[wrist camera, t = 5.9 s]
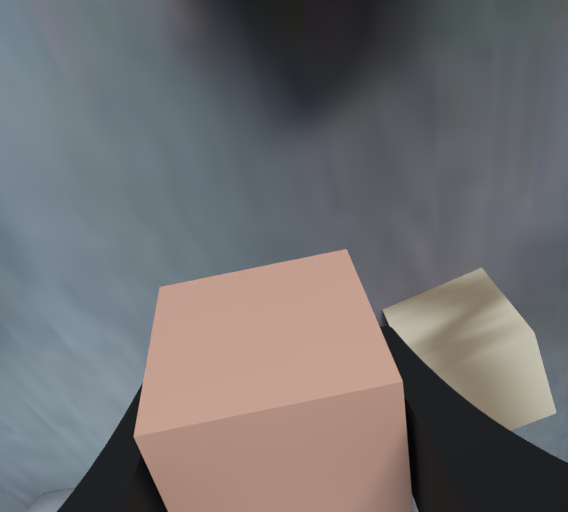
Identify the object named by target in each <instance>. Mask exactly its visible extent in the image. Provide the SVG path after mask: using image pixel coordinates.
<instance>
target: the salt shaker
mask: <svg viewBox="0 0 568 512" xmlns="http://www.w3.org/2000/svg"><path fill="white" fill-rule="evenodd" d="M74 489H75V488H73V489H67V490H61V491H54V492H48V493H43V494H42V496H41V497H40V498H39V499H38V500H37V501H36V502H35V503H34V504H33V506H32V507H31V508H30V509H29V510H28V511H27V512H57V510H58V509H59V508H60V507H61V506H62V504H63V503H64V502H65V501H66V499H67V498H68V497H69V496H70V494H71V493H72V492H73V491H74Z"/></svg>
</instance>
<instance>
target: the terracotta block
mask: <svg viewBox="0 0 568 512" xmlns="http://www.w3.org/2000/svg"><path fill="white" fill-rule="evenodd" d="M134 439H135V441H136V443H137V445H138V448H139V450H140V452H141V454H142V456H143V458H144V461H145V463H146V465H147V467H148V469H149V471H150V474H151V476H152V478H153V480H154V482H155V484H156V487H157V489H158V491H159V493H160V495H161V497H162V500H163V502H164V504H165V506H166V508H167V510H168V512H413V503H412V490H411V477H410V465H409V452H408V440H407V427H406V414H405V402H404V389H403V381H402V378H401V376H400V374H399V371H398V369H397V367H396V364H395V362H394V360H393V357H392V355H391V352H390V350H389V348H388V345H387V343H386V341H385V338H384V336H383V334H382V331H381V329H380V327H379V324H378V322H377V320H376V317H375V315H374V313H373V310H372V308H371V305H370V303H369V301H368V298H367V296H366V294H365V291H364V289H363V287H362V284H361V282H360V280H359V277H358V275H357V273H356V270H355V268H354V266H353V263H352V261H351V259H350V256H349V254H348V251H347V249H344V250H340V251H335V252H330V253H325V254H320V255H315V256H310V257H305V258H300V259H295V260H290V261H286V262H281V263H276V264H271V265H266V266H261V267H256V268H251V269H246V270H241V271H236V272H232V273H227V274H222V275H217V276H212V277H207V278H202V279H197V280H192V281H187V282H182V283H178V284H173V285H168V286H163V287H160V289H159V295H158V300H157V306H156V312H155V317H154V323H153V329H152V334H151V340H150V346H149V351H148V357H147V363H146V369H145V374H144V380H143V386H142V391H141V397H140V403H139V408H138V414H137V420H136V426H135V431H134Z"/></svg>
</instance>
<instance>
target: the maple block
mask: <svg viewBox="0 0 568 512" xmlns="http://www.w3.org/2000/svg"><path fill="white" fill-rule="evenodd" d="M383 312H384V315H385V317H386V319H387V321H388V324H389V326H390V327H392V328H393V329H394V330H395V331H396V333H397V334H398V335H399V336H400V337H401V338H402V340H403V341H404V342H405V343H406V344H407V345H408V346H409V347H410V348H411V349H412V350H413V351H414V353H415V354H416V355H417V356H418V357H419V358H420V359H421V360H422V361H423V362H424V363H425V364H426V365H427V366H429V367H430V368H431V369H432V370H433V371H434V372H435V373H436V374H437V375H438V376H439V377H440V378H441V379H443V380H444V381H445V382H446V383H447V384H448V385H449V386H451V387H452V388H453V389H454V390H455V391H457V392H458V393H459V394H460V395H461V396H463V397H464V398H465V399H466V400H468V401H469V402H470V403H471V404H473V405H474V406H475V407H477V408H478V409H479V410H481V411H482V412H483V413H485V414H486V415H488V416H489V417H491V418H492V419H493V420H495V421H496V422H498V423H499V424H501V425H502V426H504V427H505V428H507V429H508V430H510V431H511V430H514V429H516V428H519V427H522V426H524V425H527V424H529V423H532V422H535V421H537V420H540V419H543V418H545V417H548V416H550V415H553V414H556V409H555V406H554V402H553V398H552V395H551V391H550V387H549V384H548V380H547V377H546V373H545V369H544V366H543V362H542V358H541V355H540V351H539V347H538V344H537V340H536V336H535V333H534V331H533V330H532V329H531V328H530V326H529V325H528V324H527V323H526V322H525V320H524V319H523V318H522V317H521V315H520V314H519V313H518V312H517V310H516V309H515V308H514V307H513V306H512V304H511V303H510V302H509V301H508V299H507V298H506V297H505V296H504V294H503V293H502V292H501V291H500V290H499V288H498V287H497V286H496V285H495V283H494V282H493V281H492V280H491V278H490V277H489V276H488V275H487V274H486V272H485V271H484V270H483V269H482V268H480V269H477V270H475V271H473V272H470V273H468V274H465V275H463V276H461V277H458V278H456V279H454V280H451V281H449V282H447V283H444V284H442V285H440V286H437V287H435V288H433V289H430V290H428V291H426V292H423V293H421V294H419V295H416V296H414V297H412V298H409V299H407V300H404V301H402V302H400V303H397V304H395V305H393V306H390V307H388V308H386V309H383Z"/></svg>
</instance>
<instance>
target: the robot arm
mask: <svg viewBox="0 0 568 512" xmlns="http://www.w3.org/2000/svg"><path fill="white" fill-rule="evenodd" d="M380 329H381V331H382V334H383V336H384V338H385V341H386V343H387V345H388V348H389V350H390V352H391V355H392V357H393V360H394V362H395V364H396V367H397V369H398V371H399V374H400V376H401V378H402V381H403V389H404V402H405V414H406V427H407V440H408V452H409V465H410V477H411V490H412V495H413V497H414V500H415V502H416V505H417V508H418V511H419V512H568V463H567V462H565V461H563V460H561V459H559V458H557V457H555V456H553V455H551V454H549V453H547V452H546V451H544V450H542V449H540V448H539V447H537V446H535V445H533V444H532V443H530V442H528V441H526V440H525V439H523V438H521V437H519V436H518V435H516V434H515V433H513V432H511V431H510V430H508V429H507V428H505V427H504V426H502V425H501V424H499V423H498V422H496V421H495V420H493V419H492V418H491V417H489V416H488V415H486V414H485V413H483V412H482V411H481V410H479V409H478V408H477V407H475V406H474V405H473V404H471V403H470V402H469V401H468V400H466V399H465V398H464V397H463V396H461V395H460V394H459V393H458V392H457V391H455V390H454V389H453V388H452V387H451V386H449V385H448V384H447V383H446V382H445V381H444V380H443V379H441V378H440V377H439V376H438V375H437V374H436V373H435V372H434V371H433V370H432V369H431V368H430V367H429V366H427V365H426V364H425V363H424V362H423V361H422V360H421V359H420V358H419V357H418V356H417V355H416V354H415V353H414V351H413V350H412V349H411V348H410V347H409V346H408V345H407V344H406V343H405V342H404V341H403V340H402V338H401V337H400V336H399V335H398V334H397V333H396V331H395V330H394V329H393V328H392V327H390V326H384V327H380ZM142 386H143V383H142V385H141V387H140V389H139V390H138V392H137V394H136V396H135V397H134V399H133V401H132V403H131V404H130V406H129V408H128V410H127V411H126V413H125V415H124V417H123V418H122V420H121V421H120V423H119V425H118V426H117V428H116V430H115V431H114V433H113V435H112V436H111V438H110V439H109V441H108V443H107V444H106V446H105V447H104V449H103V450H102V452H101V453H100V454H99V456H98V457H97V459H96V460H95V462H94V463H93V465H92V466H91V468H90V469H89V471H88V472H87V473H86V475H85V476H84V477H83V479H82V480H81V482H80V483H79V484H78V485H77V487H76V488H75V489H74V491H73V492H72V493H71V494H70V496H69V497H68V498H67V499H66V501H65V502H64V503H63V504H62V506H61V507H60V508H59V509H58V510H57V512H168V510H167V508H166V506H165V504H164V502H163V500H162V497H161V495H160V493H159V491H158V489H157V487H156V484H155V482H154V480H153V478H152V476H151V474H150V471H149V469H148V467H147V465H146V463H145V461H144V458H143V456H142V454H141V452H140V450H139V448H138V445H137V443H136V441H135V439H134V431H135V426H136V420H137V414H138V408H139V403H140V397H141V391H142Z"/></svg>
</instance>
